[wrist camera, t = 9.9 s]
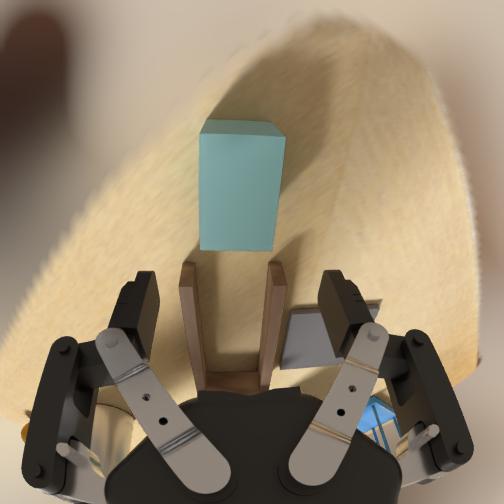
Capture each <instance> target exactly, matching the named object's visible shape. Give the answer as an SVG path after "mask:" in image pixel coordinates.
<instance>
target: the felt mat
mask: <svg viewBox="0 0 504 504" xmlns="http://www.w3.org/2000/svg"><path fill="white" fill-rule="evenodd" d="M367 307H368V309H369V311H370V313H371V315H372V318H373V320H375V318H376V315H377V313H378V311H379V309H380V308H379V307H378V305H377V304H371V305H367ZM344 361H345V360H344V357H341V358H335V355H334V352H333V348H332V345H331V342H330V339H329V336H328V333H327V330H326V327H325V324H324V321H323V318H322V315H321V312H320V309H319V308H312V309H291V310H290V315H289V320H288V325H287V330H286V335H285V340H284V345H283V350H282V355H281V360H280V365H279V366H280V370H285V369H298V368H309V367H319V366H328V365H336V364H343V363H344Z"/></svg>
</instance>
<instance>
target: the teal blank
mask: <svg viewBox="0 0 504 504" xmlns="http://www.w3.org/2000/svg"><path fill="white" fill-rule="evenodd" d="M285 142H286V137H285V136H284V135H283V134H282V132H281V131H280V130H279V129H278V128H277V127H276V126H275V125H274V124H273V123H272V122H265V121H248V120H223V119H206V121H205V123H204V125H203V127H202V130H201V132H200V138H199V229H200V250H217V251H272V249H273V241H274V234H275V226H276V218H277V210H278V202H279V194H280V185H281V177H282V168H283V160H284V151H285Z"/></svg>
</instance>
